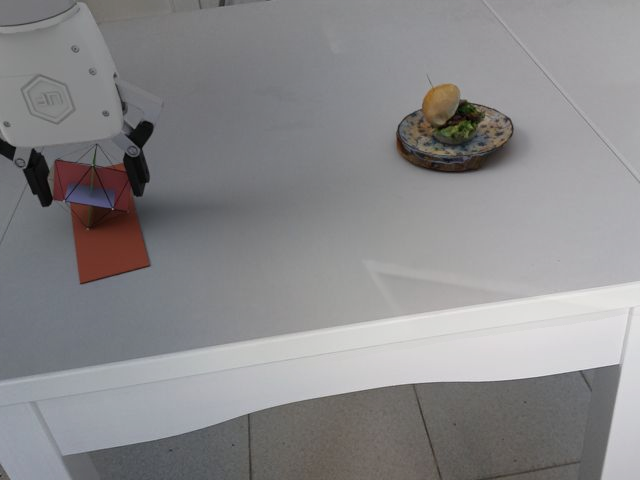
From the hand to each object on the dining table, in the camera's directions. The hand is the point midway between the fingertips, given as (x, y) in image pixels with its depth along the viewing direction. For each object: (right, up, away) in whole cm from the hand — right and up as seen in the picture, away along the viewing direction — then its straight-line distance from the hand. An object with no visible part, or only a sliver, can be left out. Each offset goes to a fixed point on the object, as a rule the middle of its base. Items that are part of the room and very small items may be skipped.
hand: (95, 193), depth 68 cm
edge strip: (0, -2, +2) cm, 3 cm away
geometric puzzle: (0, -2, +2) cm, 3 cm away
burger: (+35, +6, +7) cm, 36 cm away
